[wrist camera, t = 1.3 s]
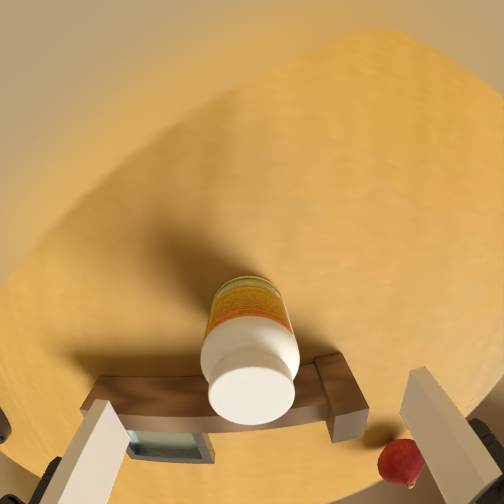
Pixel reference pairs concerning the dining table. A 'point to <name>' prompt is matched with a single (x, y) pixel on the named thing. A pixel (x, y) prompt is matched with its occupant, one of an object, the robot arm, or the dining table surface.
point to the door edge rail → (208, 421)
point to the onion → (401, 462)
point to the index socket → (171, 447)
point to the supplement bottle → (249, 352)
